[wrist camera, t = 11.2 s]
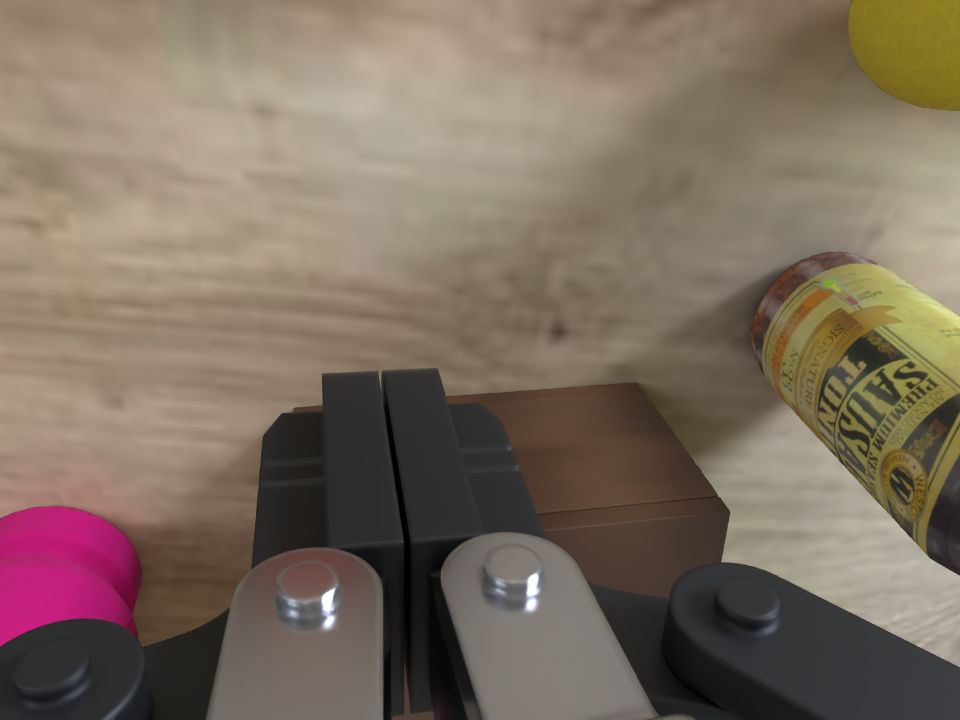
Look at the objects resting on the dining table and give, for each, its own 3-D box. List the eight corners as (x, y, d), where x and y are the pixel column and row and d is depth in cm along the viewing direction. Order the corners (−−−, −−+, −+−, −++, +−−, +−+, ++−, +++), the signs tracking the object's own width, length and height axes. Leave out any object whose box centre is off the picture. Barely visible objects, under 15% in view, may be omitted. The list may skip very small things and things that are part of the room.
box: (314, 637, 38) (317, 795, 31) (293, 407, 33) (291, 536, 26) (613, 602, 40) (676, 742, 34) (637, 381, 35) (719, 494, 28)
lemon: (952, -112, 29) (1163, -120, 22) (956, 56, 31) (1145, 97, 24) (795, -57, 29) (956, -47, 22) (812, 107, 31) (960, 163, 24)
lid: (294, 800, 31) (294, 822, 30) (263, 540, 26) (262, 559, 25) (676, 743, 33) (685, 762, 33) (720, 495, 28) (730, 511, 28)
